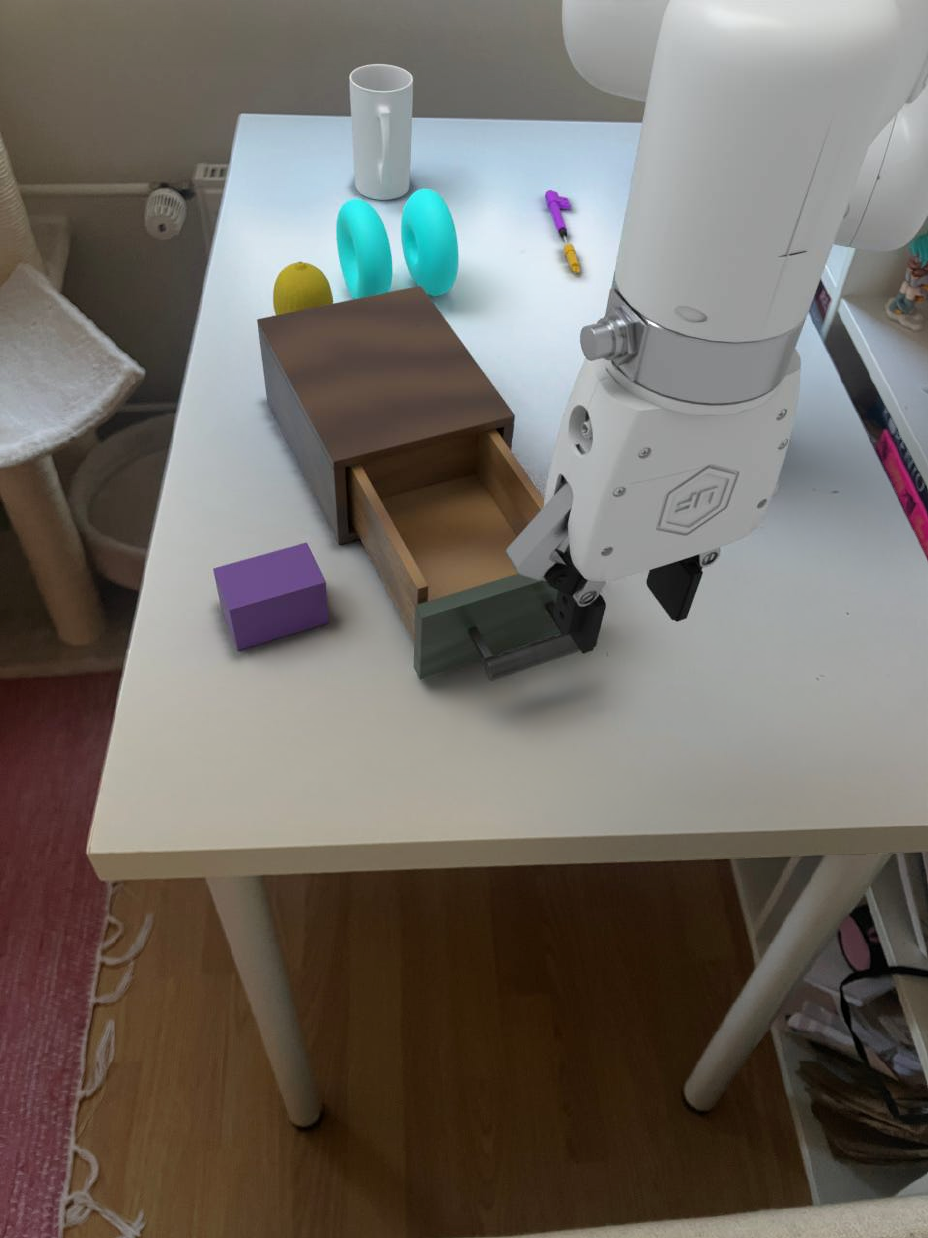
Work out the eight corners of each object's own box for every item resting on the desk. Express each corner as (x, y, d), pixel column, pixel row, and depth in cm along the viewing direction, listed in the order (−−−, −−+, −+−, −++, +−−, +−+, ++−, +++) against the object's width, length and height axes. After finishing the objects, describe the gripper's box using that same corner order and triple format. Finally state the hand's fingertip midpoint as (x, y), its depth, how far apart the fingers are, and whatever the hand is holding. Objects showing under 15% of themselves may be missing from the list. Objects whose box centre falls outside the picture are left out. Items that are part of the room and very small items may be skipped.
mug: (351, 172, 117) (347, 63, 108) (408, 171, 118) (409, 63, 109) (356, 217, 111) (352, 106, 102) (416, 216, 112) (418, 105, 102)
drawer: (617, 666, 72) (634, 605, 67) (444, 727, 68) (448, 666, 63) (488, 473, 84) (494, 407, 79) (334, 514, 80) (330, 448, 75)
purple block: (310, 583, 77) (306, 541, 73) (329, 622, 75) (326, 581, 71) (221, 609, 75) (212, 568, 71) (237, 650, 72) (229, 610, 69)
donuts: (460, 312, 101) (465, 218, 93) (365, 329, 98) (362, 234, 90) (425, 259, 106) (428, 167, 99) (335, 275, 104) (330, 181, 96)
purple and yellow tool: (542, 196, 115) (569, 275, 106) (546, 186, 115) (573, 265, 105) (563, 201, 116) (592, 280, 106) (567, 191, 115) (597, 270, 106)
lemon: (325, 359, 95) (320, 284, 88) (269, 349, 95) (260, 274, 89) (341, 326, 98) (338, 251, 92) (287, 317, 99) (280, 241, 92)
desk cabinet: (505, 498, 84) (515, 415, 77) (338, 545, 80) (333, 461, 73) (419, 367, 95) (421, 284, 88) (267, 403, 90) (256, 318, 83)
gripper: (554, 435, 35) (509, 722, 49) (928, 336, 40) (790, 621, 54) (466, 317, 39) (447, 612, 53) (815, 241, 44) (714, 529, 59)
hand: (621, 614), depth 54 cm, fingers open, 4 cm apart
